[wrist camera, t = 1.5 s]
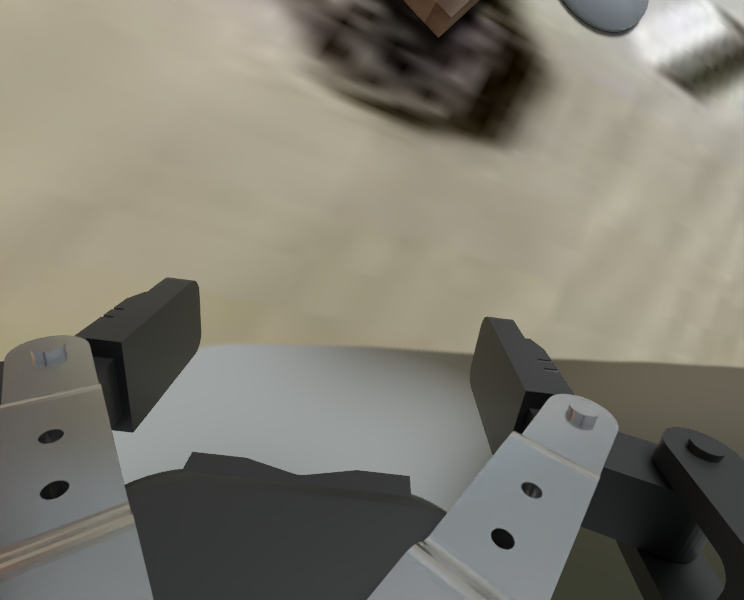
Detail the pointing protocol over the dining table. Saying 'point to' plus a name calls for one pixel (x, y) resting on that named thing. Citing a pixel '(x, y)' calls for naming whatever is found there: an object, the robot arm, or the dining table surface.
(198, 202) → the dining table surface
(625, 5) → the slate coaster
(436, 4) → the pocket block
